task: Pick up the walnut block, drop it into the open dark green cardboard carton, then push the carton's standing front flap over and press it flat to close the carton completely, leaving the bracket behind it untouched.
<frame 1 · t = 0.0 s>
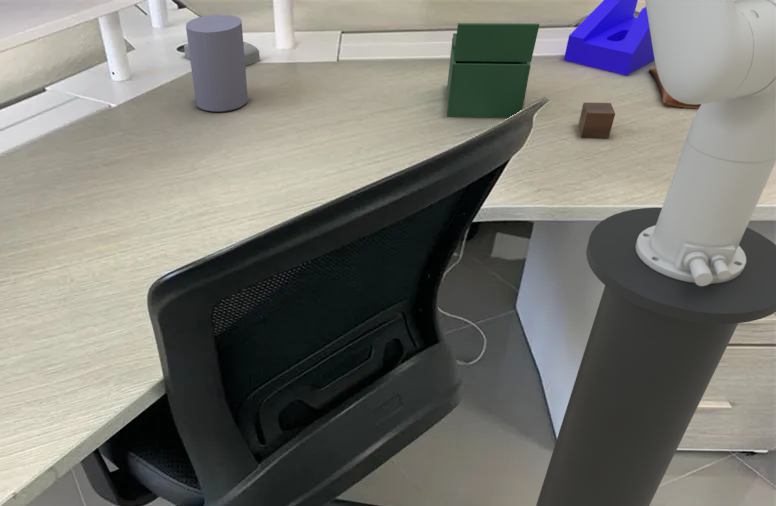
flap: (494, 42, 118), point 13 cm above the table, hinge at 105.0°
container: (222, 103, 139), on the table
carton: (482, 102, 132), on the table
block: (592, 132, 120), on the table
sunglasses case: (677, 90, 132), on the table
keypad: (222, 59, 158), on the table
bracket: (620, 54, 147), on the table
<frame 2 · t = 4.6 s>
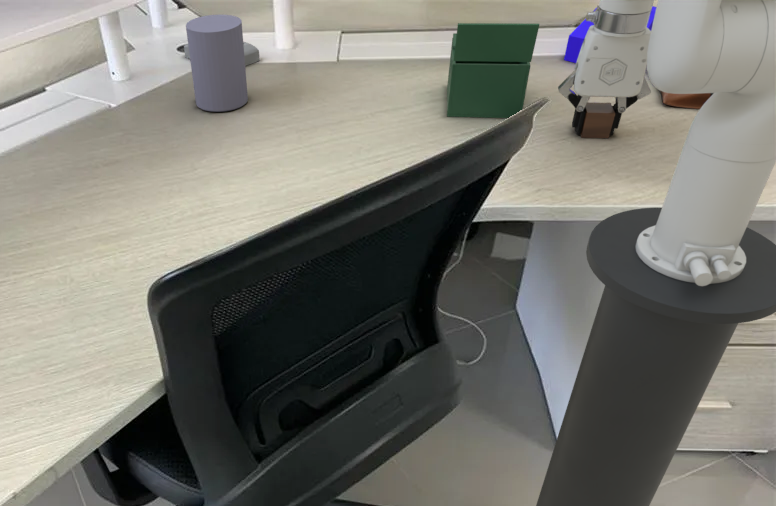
hand: (593, 130, 120), 0 cm above the table, tool pointing down, fingers closed on block, 4 cm apart
block: (592, 132, 120), on the table, touching gripper
everything else where it was.
when the fingers open (8 cm above the table, at t = 11.5 s): block drops 7 cm, resting on carton.
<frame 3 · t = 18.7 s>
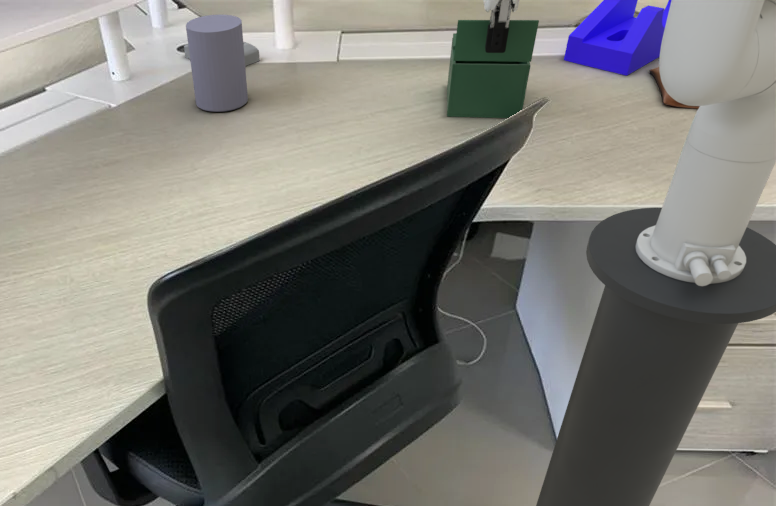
hand: (494, 50, 116), 13 cm above the table, tool pointing down, fingers closed
flap: (494, 41, 118), point 14 cm above the table, hinge at 94.8°, touching gripper
block: (483, 106, 130), resting on carton
everything else where it was.
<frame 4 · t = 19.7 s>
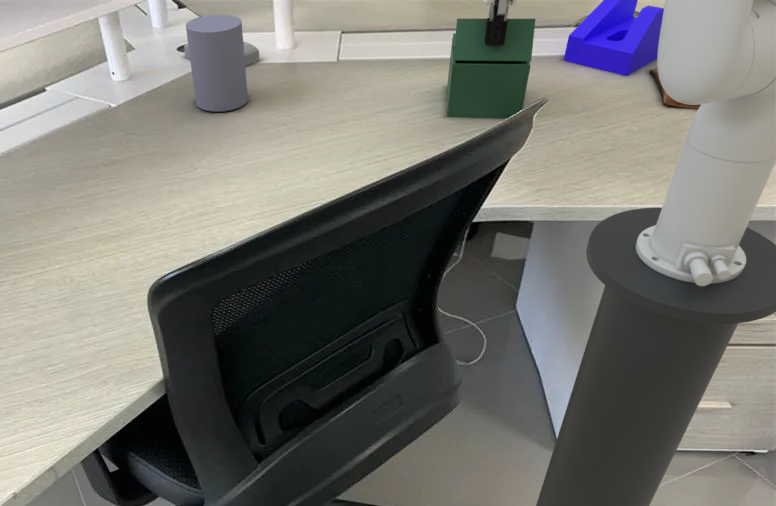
hand: (494, 43, 119), 13 cm above the table, tool pointing down, fingers closed
flap: (493, 39, 120), point 13 cm above the table, hinge at 57.6°, touching gripper
everything else where it was.
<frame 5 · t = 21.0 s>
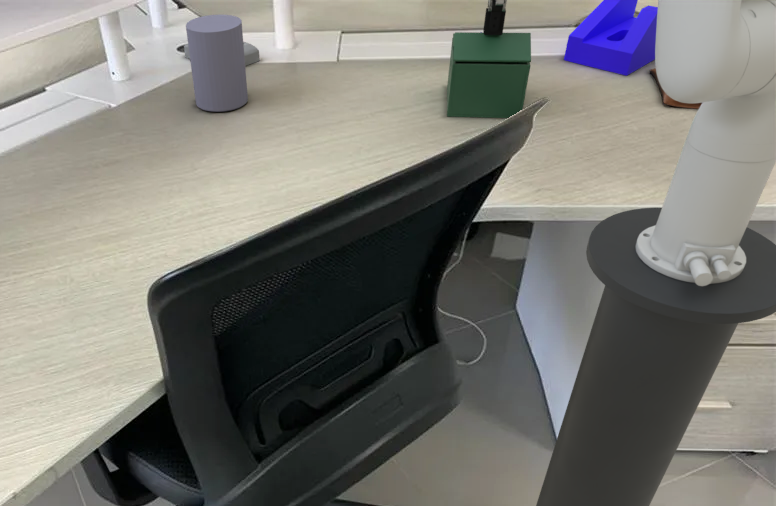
hand: (492, 33, 123), 13 cm above the table, tool pointing down, fingers closed
flap: (492, 47, 122), point 11 cm above the table, hinge at 22.0°
everything else where it was.
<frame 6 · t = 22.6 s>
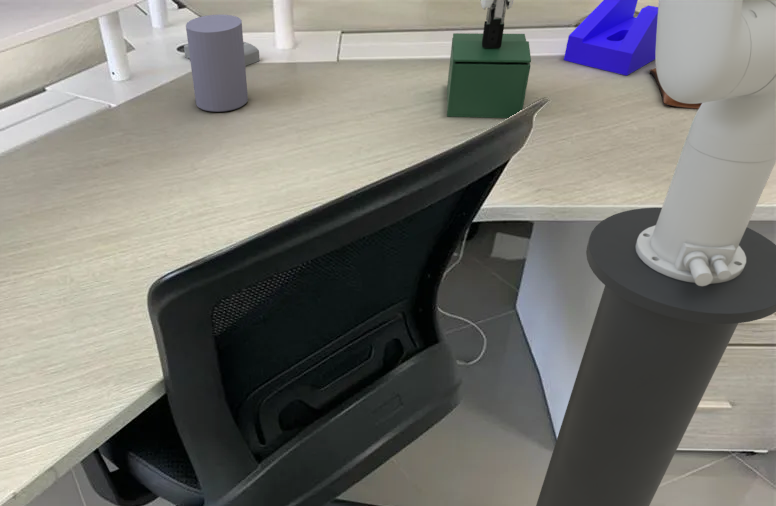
hand: (491, 46, 123), 11 cm above the table, tool pointing down, fingers closed
flap: (491, 51, 123), point 11 cm above the table, hinge at 7.9°, touching gripper
everything else where it was.
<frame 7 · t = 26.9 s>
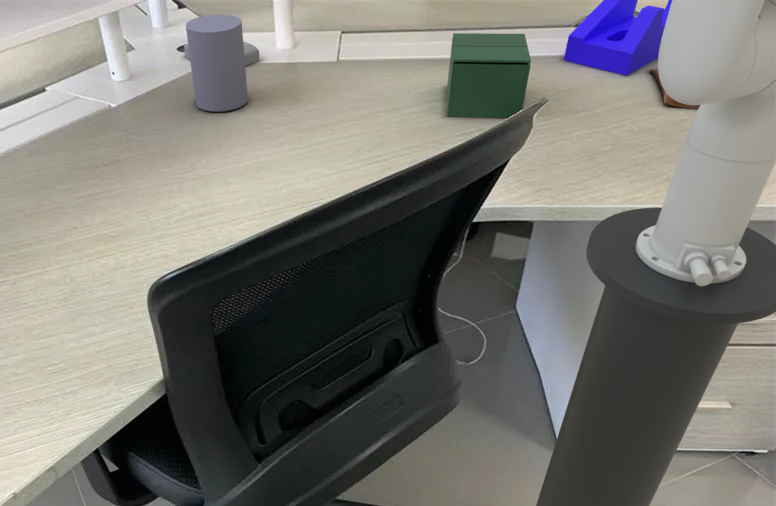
flap: (490, 54, 123), point 10 cm above the table, hinge at -0.3°
everything else where it was.
at the end: block inside the target area in the carton (3.3 cm from its centre), point 0.5 cm above the carton's base; flap at +0° (first picture: +105°); bracket moved 0.2 cm from its start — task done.
